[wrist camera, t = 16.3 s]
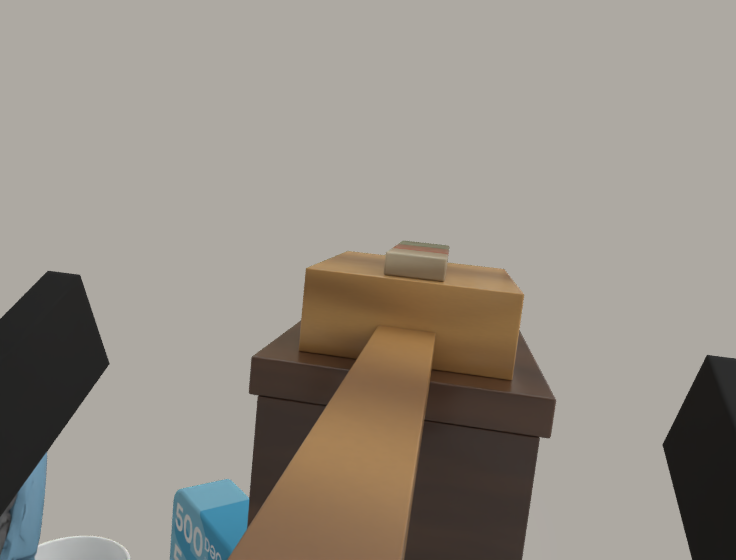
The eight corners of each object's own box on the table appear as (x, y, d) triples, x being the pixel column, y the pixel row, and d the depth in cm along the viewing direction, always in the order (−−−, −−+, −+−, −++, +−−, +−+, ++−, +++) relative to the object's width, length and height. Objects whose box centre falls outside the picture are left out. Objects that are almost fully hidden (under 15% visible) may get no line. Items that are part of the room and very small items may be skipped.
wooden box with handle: (651, 802, 7) (721, 435, 7) (-33, 654, 8) (-26, 327, 8) (496, 331, 35) (506, 251, 34) (341, 311, 36) (348, 233, 35)
